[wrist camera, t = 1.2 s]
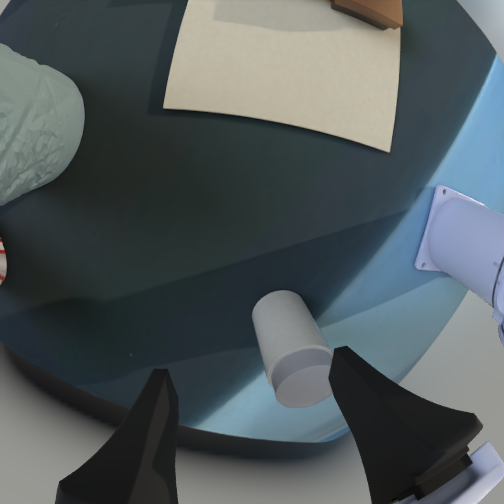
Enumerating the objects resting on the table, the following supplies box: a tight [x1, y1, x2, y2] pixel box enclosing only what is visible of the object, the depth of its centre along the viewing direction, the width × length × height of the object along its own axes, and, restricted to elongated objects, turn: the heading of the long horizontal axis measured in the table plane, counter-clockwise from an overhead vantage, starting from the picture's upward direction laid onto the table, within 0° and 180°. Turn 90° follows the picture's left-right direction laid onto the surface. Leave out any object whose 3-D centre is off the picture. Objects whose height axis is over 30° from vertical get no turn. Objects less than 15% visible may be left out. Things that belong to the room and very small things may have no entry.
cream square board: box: [163, 0, 400, 152], centre depth 13 cm, size 16×16×1 cm
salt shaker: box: [252, 290, 333, 408], centre depth 18 cm, size 4×4×8 cm
